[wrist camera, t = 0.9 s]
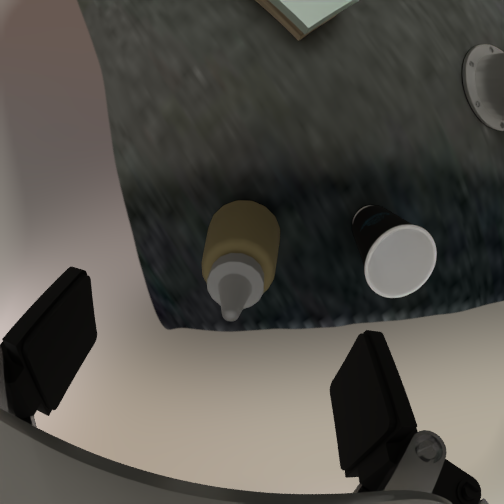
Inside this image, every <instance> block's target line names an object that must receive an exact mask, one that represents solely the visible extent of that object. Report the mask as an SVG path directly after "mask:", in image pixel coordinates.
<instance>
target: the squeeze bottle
mask: <svg viewBox="0 0 504 504" xmlns="http://www.w3.org/2000/svg"><path fill="white" fill-rule="evenodd" d="M279 243H280V227H279V225H278V222H277V220H276V217H275V216H274V215H273V214H272V213H271V212H270V211H269V210H268V209H267V208H266V207H265V206H263V205H261V204H258V203H256V202H254V201H243V200H237V201H234V202H231V203H229V204H226V205H223V206H222V207H221V208H220V209H219V210H218V211H217V212H216V213H215V214H214V215H213V217H212V220H211V222H210V225H209V228H208V233H207V238H206V243H205V248H204V253H203V259H202V274H203V277H204V279H205V281H206V283H207V289H208V292H209V293H210V295H211V297H212V299H214V300H215V301H216V302H217V303H218V304H220V305H221V309H222V316H223V318H224V319H225V320H227V321H235V320H237V319H238V317H239V315H240V313H241V311H242V309H244V308H248V307H251V306H252V305H254V304H255V303H256V302H258V301H259V300H260V298H261V296H262V294H263V293H264V292H265V291H266V290H268V288H269V286H270V285H271V283H272V281H273V279H274V275H275V269H276V262H277V256H278V249H279Z"/></svg>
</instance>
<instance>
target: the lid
mask: <svg viewBox="0 0 504 504" xmlns="http://www.w3.org/2000/svg"><path fill="white" fill-rule="evenodd" d="M269 1H270V2H271V3H272V4H273V5H274V6H275V7H276V8H278V9H279V10H280V11H281V12H282V13H283V14H284V15H285V16H286V17H287V18H288V19H289V20H290V21H291V22H293V23H294V24H295V25H296V26H297V27H298V28H299V29H300V30H301V31H302V32H303V33H304V34H305V35H306V34H307V33H309V32H310V31H312V30H313V29H315V28H316V27H318V26H319V25H321V24H322V23H324V22H325V21H327V20H328V19H330V18H331V17H333V16H335V15H336V14H338V13H339V12H341V11H343V10H344V9H346V8H348V7H349V6H351V5H353V4H354V3H356V2H358V1H360V0H269Z"/></svg>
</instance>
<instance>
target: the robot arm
mask: <svg viewBox="0 0 504 504" xmlns="http://www.w3.org/2000/svg"><path fill="white" fill-rule="evenodd" d="M462 77H463V85H464V90H465V93H466V96H467V99H468V102H469V104H470V106H471V108H472V110H473V111H474V113H475V114H476V116H477V117H478V118H479V119H480V120H481V121H482V122H483V123H484V124H485V125H486V126H488V127H490V128H492V129H495V130H500V131H504V52H503V51H502V50H500V49H499V48H497V47H495V46H493V45H489V44H481V45H477V46H474V47H473V48H471V49H470V50H469V52H468V53H467V54H466V57H465V59H464V63H463V71H462ZM96 338H97V330H96V323H95V317H94V308H93V299H92V289H91V279H90V277H89V276H87V273H86V271H84V270H81V269H78V268H75V267H69V268H68V269H67V270H66V271H65V272H64V273H63V274H62V275H61V276H60V277H59V278H58V279H57V280H56V281H55V282H54V283H53V284H52V285H51V286H50V287H49V288H48V289H47V290H46V291H45V292H44V293H43V295H41V296H40V297H39V299H38V300H37V301H36V302H35V303H34V304H33V305H32V306H31V307H30V308H29V309H28V310H27V311H26V313H25V314H24V315H23V316H22V317H21V318H20V319H19V320H18V322H17V323H16V324H15V325H14V326H13V327H12V328H11V330H10V331H9V332H8V333H7V334H6V336H5V337H4V338H3V342H2V343H1V344H0V504H488V503H487V501H486V500H485V499H482V500H480V498H481V488H480V485H479V483H478V482H477V480H476V479H474V478H473V477H472V476H470V475H469V474H467V473H466V472H464V471H462V470H461V469H460V468H458V467H457V466H455V465H454V464H452V463H451V462H449V461H448V460H446V459H445V457H446V447H445V444H444V442H443V440H442V439H441V438H440V437H439V436H438V435H437V434H435V433H433V432H431V431H426V430H423V431H419V432H417V429H416V427H417V424H416V421H415V418H414V415H413V412H412V409H411V406H410V403H409V400H408V397H407V395H406V392H405V389H404V386H403V384H402V381H401V378H400V376H399V373H398V370H397V368H396V365H395V362H394V360H393V357H392V355H391V352H390V350H389V347H388V345H387V342H386V340H385V338H384V335H383V334H382V333H381V332H376V331H369V330H366V331H365V332H364V333H363V334H360V335H359V336H358V337H357V339H356V341H355V343H354V345H353V347H352V348H351V350H350V352H349V354H348V355H347V357H346V359H345V361H344V362H343V364H342V366H341V368H340V369H339V371H338V373H337V375H336V376H335V378H334V379H333V381H332V383H331V386H330V396H331V402H332V409H333V415H334V422H335V429H336V436H337V443H338V451H339V459H340V466H341V469H342V470H345V477H359V482H360V484H359V485H358V486H357V488H356V489H355V491H354V492H353V493H347V494H277V493H263V492H252V491H243V490H234V489H227V488H220V487H214V486H208V485H202V484H197V483H192V482H187V481H183V480H178V479H173V478H169V477H165V476H162V475H158V474H154V473H150V472H147V471H143V470H140V469H137V468H134V467H130V466H127V465H124V464H121V463H118V462H115V461H112V460H110V459H107V458H104V457H101V456H99V455H96V454H94V453H91V452H89V451H86V450H84V449H81V448H79V447H77V446H74V445H72V444H70V443H68V442H65V441H63V440H61V439H59V438H57V437H55V436H52V435H50V434H48V433H46V432H44V431H42V430H40V429H38V428H37V427H36V423H35V419H34V414H35V412H36V411H37V410H38V411H40V412H42V413H44V414H46V415H48V416H49V414H50V412H51V411H52V410H56V408H57V407H58V405H59V404H60V402H61V400H62V398H63V396H64V394H65V393H66V391H67V389H68V387H69V386H70V384H71V382H72V380H73V379H74V377H75V375H76V373H77V372H78V370H79V368H80V366H81V365H82V363H83V362H84V360H85V358H86V356H87V355H88V353H89V351H90V350H91V348H92V347H93V345H94V343H95V341H96Z"/></svg>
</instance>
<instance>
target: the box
mask: <svg viewBox="0 0 504 504" xmlns="http://www.w3.org/2000/svg"><path fill="white" fill-rule="evenodd" d="M255 1H256V2H258V3H259V4H260V5H261V6H262V7H263V8H264V9H266V10H267V11H268V12H269V13H270V14H271V15H272V16H273V17H274V18H275V19H276V20H278V21H279V22H280V23H281V24H282V25H283V26H284V27H285V28H286V29H287V30H288V31H289V32H290V33H291V34H292V35H293V36H294V37H295V38H296V39H297V40H298V41H299V40H301V39H302V38H303V37H305V36H306V35H308V34H309V33H311V32H312V31H314V30H315V29H317V28H318V27H320V26H321V25H323V24H324V23H326V22H327V21H329V20H330V19H332V18H333V17H335V16H336V15H337V14H336V15H335V16H333V17H331V18H330V19H328V20H327V21H325V22H324V23H322V24H321V25H319V26H318V27H316V28H315V29H313V30H312V31H310V32H309V33H307V34H306V35H305V34H304V33H303V32H302V31H301V30H300V29H299V28H298V27H297V26H296V25H295V24H294V23H293V22H291V21H290V20H289V19H288V18H287V17H286V16H285V15H284V14H283V13H282V12H281V11H280V10H279V9H278V8H276V7H275V6H274V5H273V4H272V3H271V2H270V1H269V0H255Z"/></svg>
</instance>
